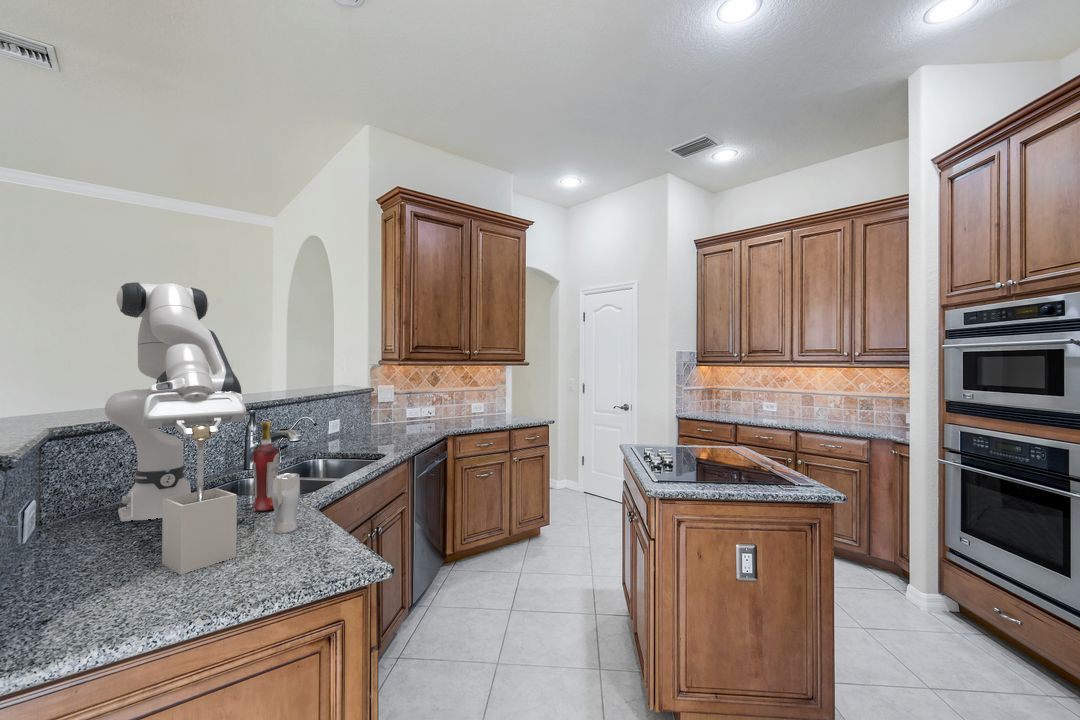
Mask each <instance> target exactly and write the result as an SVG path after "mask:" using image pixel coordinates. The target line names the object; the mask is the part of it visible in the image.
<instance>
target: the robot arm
mask: <svg viewBox="0 0 1080 720" xmlns="http://www.w3.org/2000/svg"><path fill="white" fill-rule="evenodd" d="M116 304H117V306H118V309H119V311H120V313H122V314H123V315H124V316H127V317H132V318H135V319H137V318H141V319H140V323H139V327H138V328H139V329H138V333H137V334H138V335H137V368H138V370H139V372H140V373H142V374H143V375H145V376H146V377H149V378H151V379H154V380H156V383H154V384H151V385H150V386H149V387H148V388H145V389H144V388H143V389H130V390H124V391H119V392H115V393H113V394H112V395H111V396H110V397H109V398H108V399H107V401H106V402H105V405H104V406H105V407H104V412H105V416H106V417H107V420H109V421H110V422H111V423H112V424H114V425H115V426H116V427H119V428H121V429H123V430H124V431H125V432H126V433H128V435H130V437H131V439H132V440H133V442H134V444H135V448H136V455H137V470H136V471H135V475H134V482H135V483H134V485H133V486H132V487H131V488H130V490H129V491H128V493H127V494H126V495H122V496H121V503H122V504H126V506H123V507H119V508H118V510H117V513H118V517H119V520H120V522H131V520H133V521H149V520H148V519H151V520H157V519H156V518H158V519H162V518H163V498H168V497H173V496H178V495H183V494H189V493H192V492H191V491H192V490H191V483H190V481H189V480H187V479H186V478H185V476H186V467H185V465H184V443H183V440H181V438H179V437H178V436H175V435H173V434H169V433H167V432H162V431H161V430H160V429H161V428H172V427H173V428H175V430H176V431H178V433H181V435H182V437H183V439H184V440H187V439H189V440H190V439H191V438H192V429H191V428H187V427H188V426H189V427H190V426H203V425H212V426H210V438H211V437H217V436H218V434H219V427H220V425H221V424H226V423H239V422H242V421H243V420H244V419H245V418H246V416H247V407H246V405H245V403H244V398H243V395H242V386H241V383H240V381H239V379H238V377H237V376H236V375H235V372H234V371H233V369H232V367H231V365H230V363H229V361H228V358H227V356H226V354H225V351H224V349H223V346H222V344H221V343H220V342H221V341H220V340H219V339H218V337H217V335H216V334H215V332H214V331H213V330H210V329H209V328H207V327H206V326H205V325H204V324H203V323H202V322H201V319H203V318H204V317H205V316H206V315H207V312H208V311H209V310H208V309H209V307H210V306H209V304H210V303H209V300H208V297H207V294H206V293H205V291H203V290H201V289H199V288H195V287H186V286H183V285H181V284H177V283H172V282H169V283H167V282H166V283H140V282H135V281H134V282H126V283H124V284H123V285H121V286H120V288H119V289H118V291H117V294H116ZM210 371H211V373H212V374H210ZM186 426H187V427H186Z"/></svg>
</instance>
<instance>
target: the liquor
mask: <svg viewBox="0 0 1080 720" xmlns="http://www.w3.org/2000/svg"><path fill="white" fill-rule="evenodd" d="M271 430H272V421H262V422H261V431H262V432H261V441H260V447H258V448H255V449H254V450H253V451H252V459H253V460H252V463H253V464H252V466H253V467H252V468H253V480H254V483H253V484H254V505H253V509H254V510H256V511H257V512H258V511H267V512H270V511H269V510H271V511H273V510H274V507H273V502H272V482H273V477H274V476H276V475H279V467H280V464H279V462H280V449H279V448H278V447H276V446H274V445H273V444H272V435H271ZM272 509H273V510H272Z"/></svg>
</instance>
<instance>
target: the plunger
mask: <svg viewBox="0 0 1080 720" xmlns="http://www.w3.org/2000/svg"><path fill="white" fill-rule="evenodd" d="M210 427H211V425H193V426H191V427H190V429H192V438H190V440H191V441H197V447H196V448H197V449H196V450H197V451H196V452H197V457H196V460H197V461H196V463H197V464H196V465H197V467H196V468H197V470H196V471H197V472H196V475H197V476H196V485H197V486H196V492H197V502H201V501H205V500H203V491H204V481H205V480H204V479H205V478H204V470H205V467H204V464H205V463H204V459H205V455H204V454H205V448H204V447H205V443H204V442H205V440H210V439H211V437H210ZM212 499H214V498H212ZM208 500H210V499H208ZM193 503H196V502H193ZM188 504H191V503H188ZM184 505H186V504H184Z"/></svg>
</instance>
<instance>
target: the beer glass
mask: <svg viewBox="0 0 1080 720" xmlns="http://www.w3.org/2000/svg"><path fill="white" fill-rule="evenodd" d="M300 479H301V478H300V473H296V472H295V473H292V472H291V473H282V474H281V473H280V474H278V475H276V476H274V477H273V482H272V502H273V507H274V509H273V513H274V526H273V532H274V533H275V534H287V533H288V534H289V533H292V532H295V531H297V530H298V529H299V523H298V517H297V515H298V508H299V503H300V496H301V481H300Z"/></svg>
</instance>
